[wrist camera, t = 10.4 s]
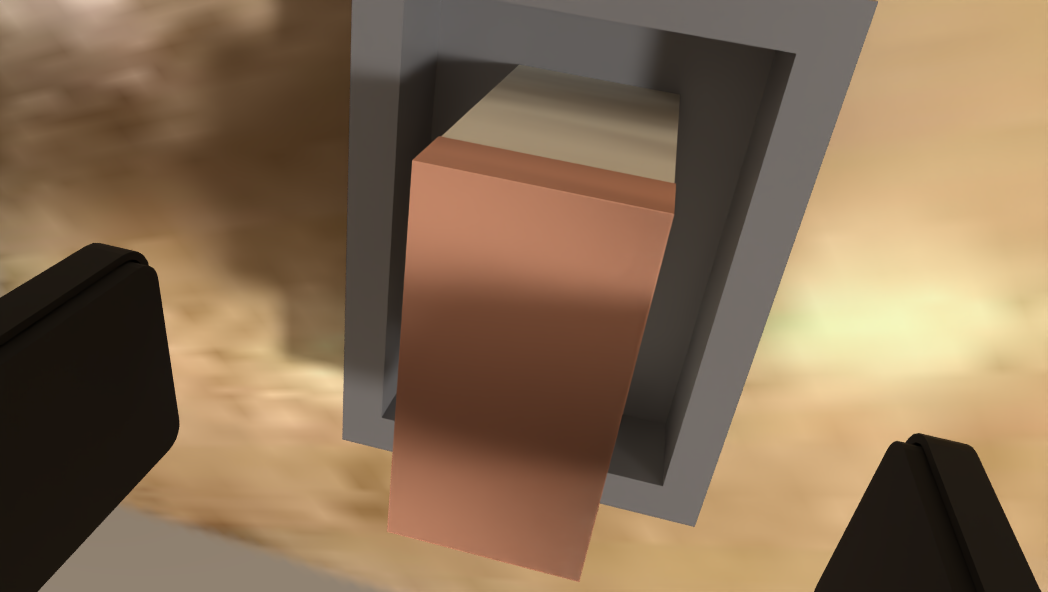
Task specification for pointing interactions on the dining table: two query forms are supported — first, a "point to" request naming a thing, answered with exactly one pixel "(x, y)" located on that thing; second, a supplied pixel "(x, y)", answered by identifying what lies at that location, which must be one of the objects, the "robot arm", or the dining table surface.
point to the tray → (700, 176)
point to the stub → (527, 312)
